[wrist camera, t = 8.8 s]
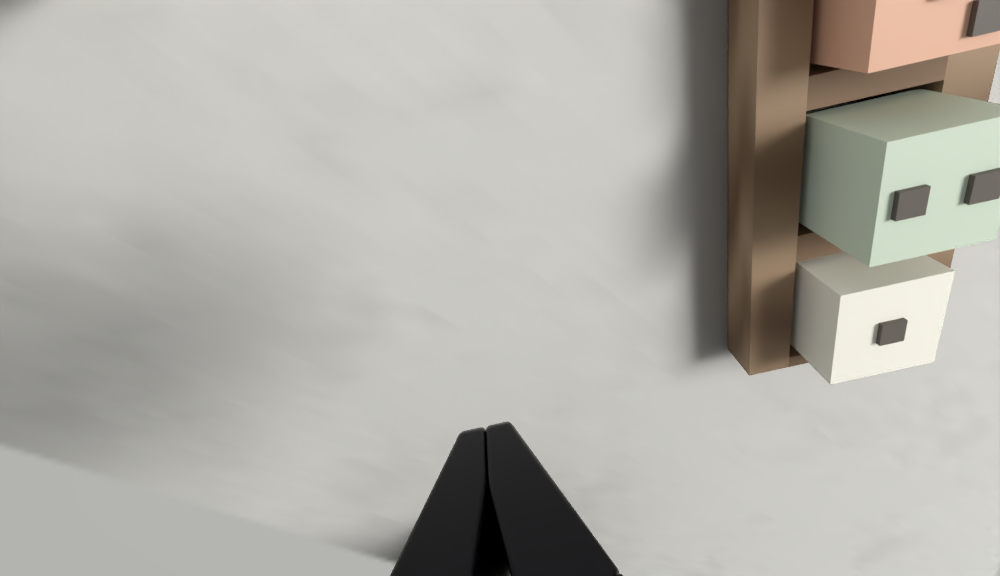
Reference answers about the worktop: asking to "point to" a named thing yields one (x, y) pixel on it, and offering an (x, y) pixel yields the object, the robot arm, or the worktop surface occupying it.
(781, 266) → the board
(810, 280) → the key one
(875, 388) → the worktop surface
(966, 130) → the key two
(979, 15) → the key three
